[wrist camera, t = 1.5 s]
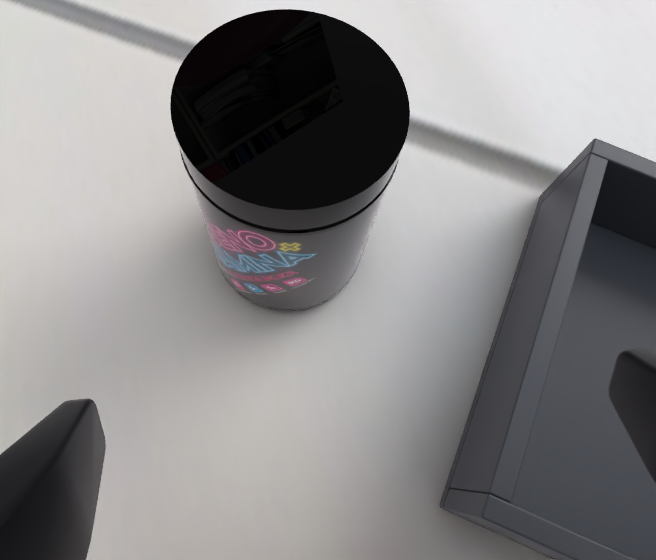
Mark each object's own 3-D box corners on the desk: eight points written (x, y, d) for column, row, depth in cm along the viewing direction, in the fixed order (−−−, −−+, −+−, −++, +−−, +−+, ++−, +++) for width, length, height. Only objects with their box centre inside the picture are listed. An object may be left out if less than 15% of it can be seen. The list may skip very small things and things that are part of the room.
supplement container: (207, 188, 26) (161, 16, 16) (347, 173, 26) (385, 1, 17) (222, 325, 24) (178, 225, 14) (373, 305, 24) (434, 196, 15)
